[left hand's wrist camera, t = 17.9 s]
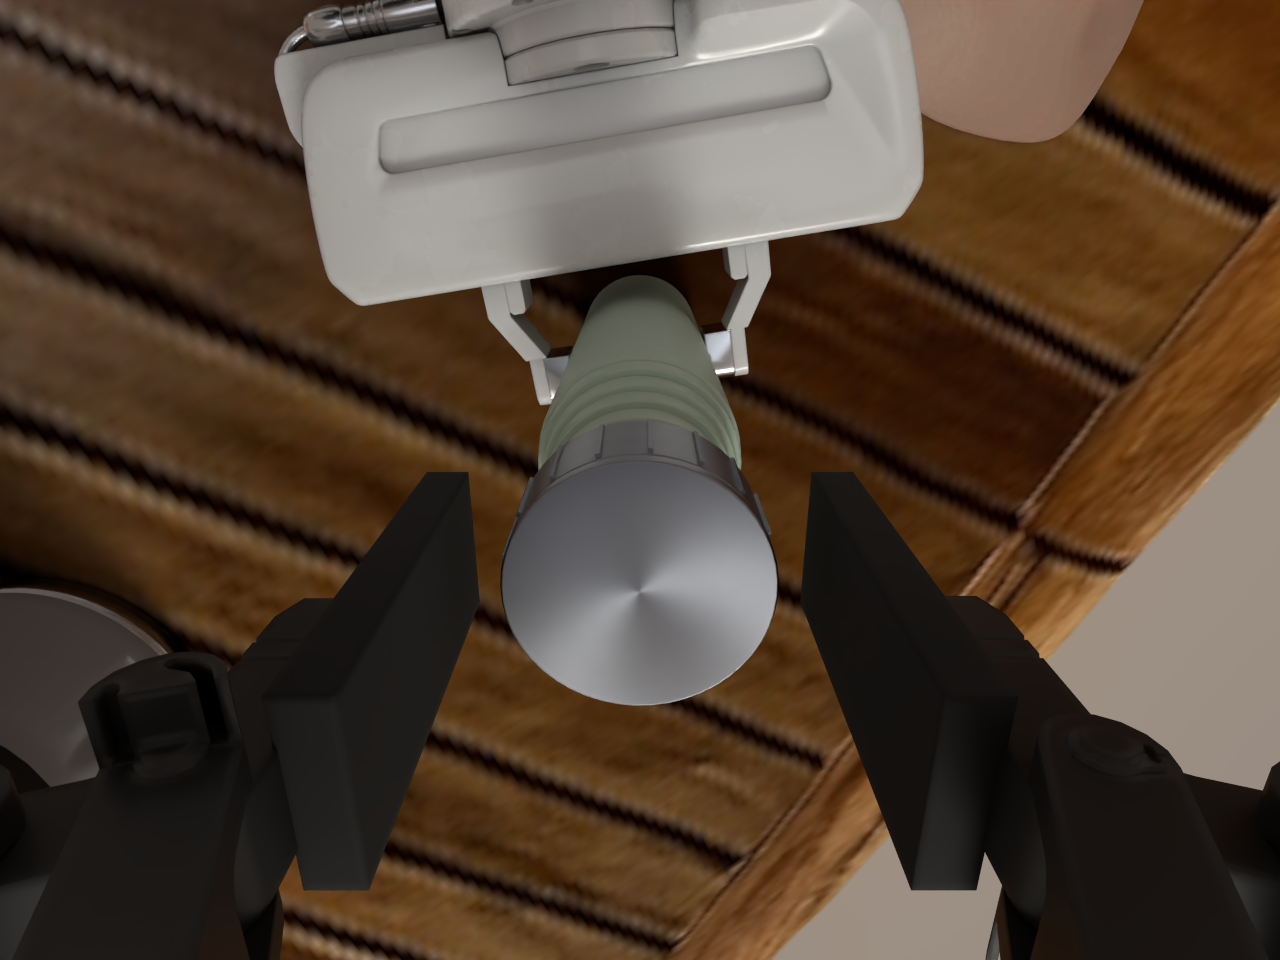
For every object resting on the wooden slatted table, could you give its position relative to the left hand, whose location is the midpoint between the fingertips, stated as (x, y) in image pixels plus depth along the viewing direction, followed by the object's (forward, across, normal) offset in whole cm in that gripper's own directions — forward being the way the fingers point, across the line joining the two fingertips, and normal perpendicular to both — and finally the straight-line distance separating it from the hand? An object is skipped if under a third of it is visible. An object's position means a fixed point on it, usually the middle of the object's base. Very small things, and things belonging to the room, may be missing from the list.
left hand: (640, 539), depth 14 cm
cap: (-2, 0, 0) cm, 2 cm away
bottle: (+22, 0, 0) cm, 22 cm away
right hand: (+15, 0, -1) cm, 15 cm away
